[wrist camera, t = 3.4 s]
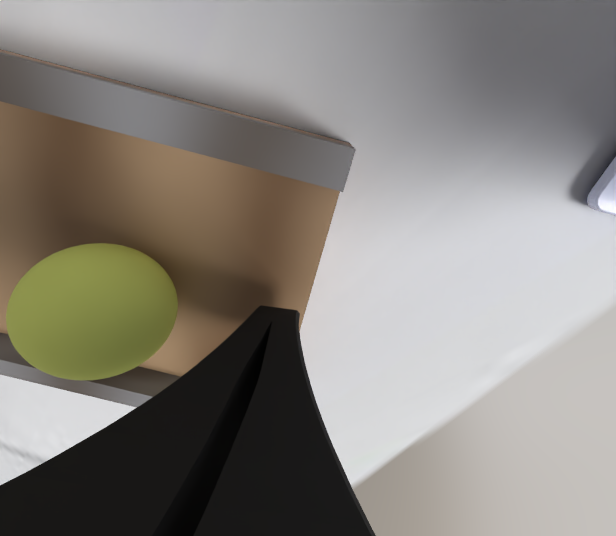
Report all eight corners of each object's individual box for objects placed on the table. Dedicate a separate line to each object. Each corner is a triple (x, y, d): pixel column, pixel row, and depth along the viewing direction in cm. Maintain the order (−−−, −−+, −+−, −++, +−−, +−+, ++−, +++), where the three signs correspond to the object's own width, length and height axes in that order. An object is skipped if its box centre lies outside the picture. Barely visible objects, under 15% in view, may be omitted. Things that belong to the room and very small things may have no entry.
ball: (201, 242, 9) (115, 314, 6) (197, 330, 11) (129, 427, 7) (84, 211, 9) (-81, 265, 5) (99, 306, 11) (-16, 392, 7)
